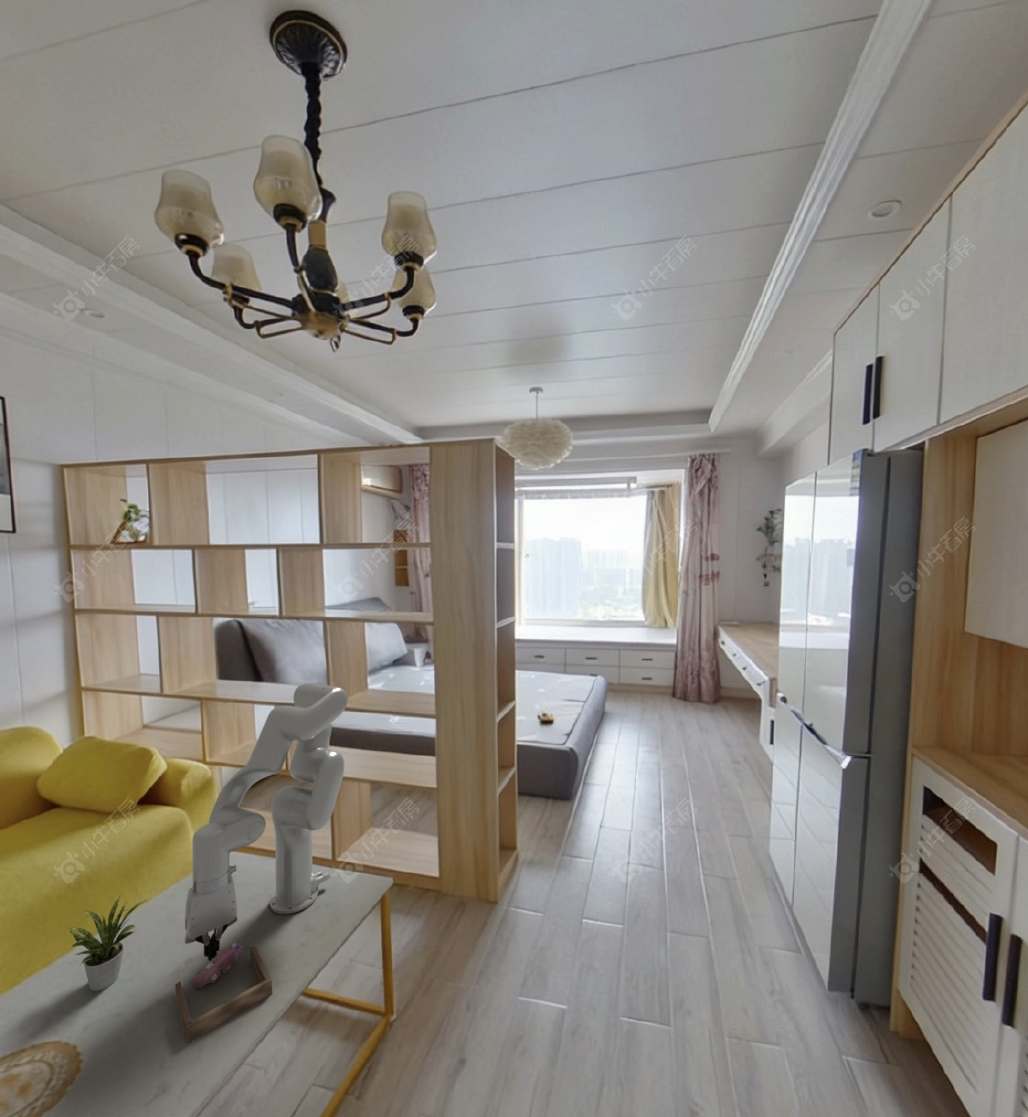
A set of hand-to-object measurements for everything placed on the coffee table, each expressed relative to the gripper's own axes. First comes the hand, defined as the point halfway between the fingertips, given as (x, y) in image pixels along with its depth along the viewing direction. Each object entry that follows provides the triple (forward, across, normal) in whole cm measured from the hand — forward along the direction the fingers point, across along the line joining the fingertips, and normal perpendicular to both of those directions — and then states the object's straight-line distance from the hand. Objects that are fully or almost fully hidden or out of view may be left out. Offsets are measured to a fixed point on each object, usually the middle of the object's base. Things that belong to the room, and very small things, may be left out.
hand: (211, 956), depth 116 cm
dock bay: (+2, 0, +10) cm, 10 cm away
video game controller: (+2, -1, +4) cm, 5 cm away
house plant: (+3, +18, -12) cm, 22 cm away
